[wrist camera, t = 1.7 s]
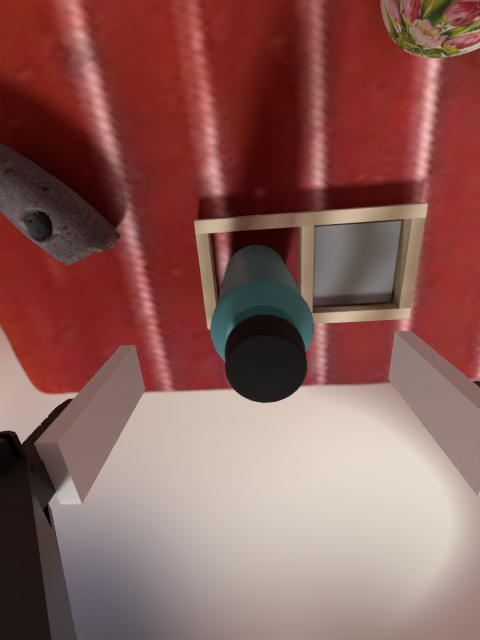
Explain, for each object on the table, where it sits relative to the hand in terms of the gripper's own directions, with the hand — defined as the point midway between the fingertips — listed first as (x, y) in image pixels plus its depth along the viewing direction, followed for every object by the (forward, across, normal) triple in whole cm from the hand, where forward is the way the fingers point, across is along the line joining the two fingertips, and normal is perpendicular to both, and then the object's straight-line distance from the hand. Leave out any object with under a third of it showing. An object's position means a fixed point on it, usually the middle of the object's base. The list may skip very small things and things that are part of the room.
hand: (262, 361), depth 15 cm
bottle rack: (+18, +5, 0) cm, 19 cm away
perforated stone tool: (+19, -19, +9) cm, 28 cm away
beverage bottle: (+19, 0, 0) cm, 19 cm away
